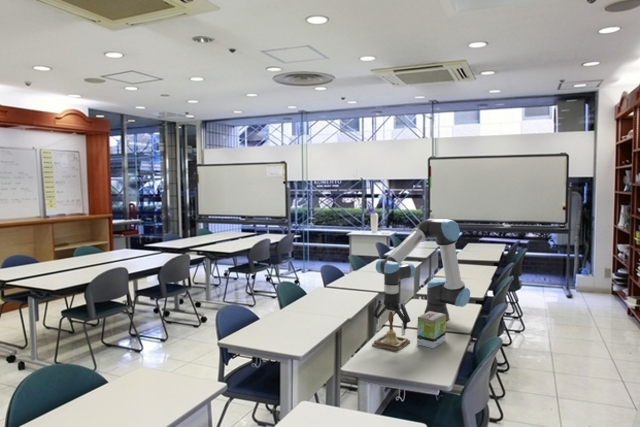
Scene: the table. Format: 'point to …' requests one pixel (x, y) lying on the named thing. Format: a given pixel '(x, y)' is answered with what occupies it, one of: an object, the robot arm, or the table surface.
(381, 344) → the stand
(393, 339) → the hand bell
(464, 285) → the robot arm
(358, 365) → the table surface
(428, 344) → the tea box
